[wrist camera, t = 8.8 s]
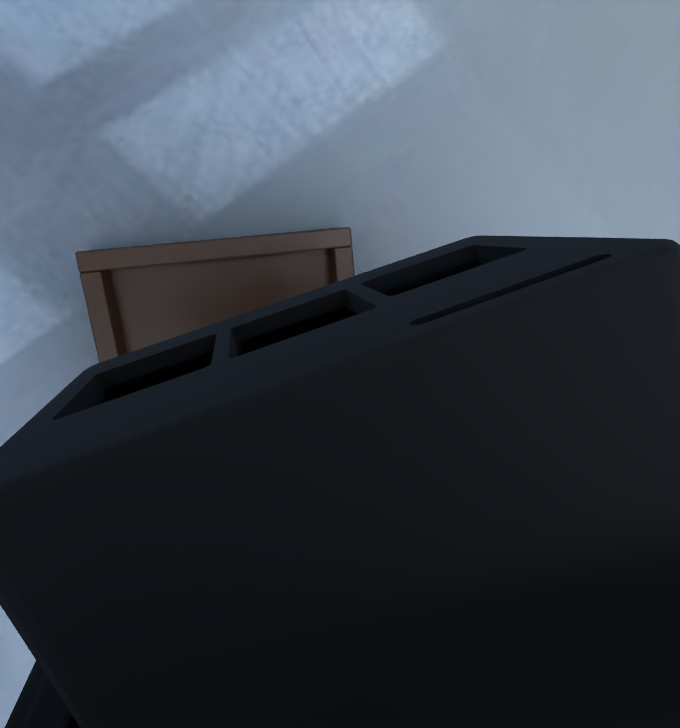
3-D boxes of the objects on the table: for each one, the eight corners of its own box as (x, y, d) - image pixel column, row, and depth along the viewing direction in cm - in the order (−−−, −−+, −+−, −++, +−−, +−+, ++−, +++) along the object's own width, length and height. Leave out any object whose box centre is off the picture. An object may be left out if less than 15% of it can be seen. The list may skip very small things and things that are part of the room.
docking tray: (89, 250, 21) (74, 252, 19) (341, 227, 23) (351, 227, 21) (154, 551, 25) (147, 579, 23) (364, 512, 27) (374, 534, 25)
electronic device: (472, 233, 10) (699, 236, 5) (560, 644, 13) (751, 888, 8) (87, 363, 9) (-85, 518, 4) (284, 766, 12) (315, 1114, 7)
